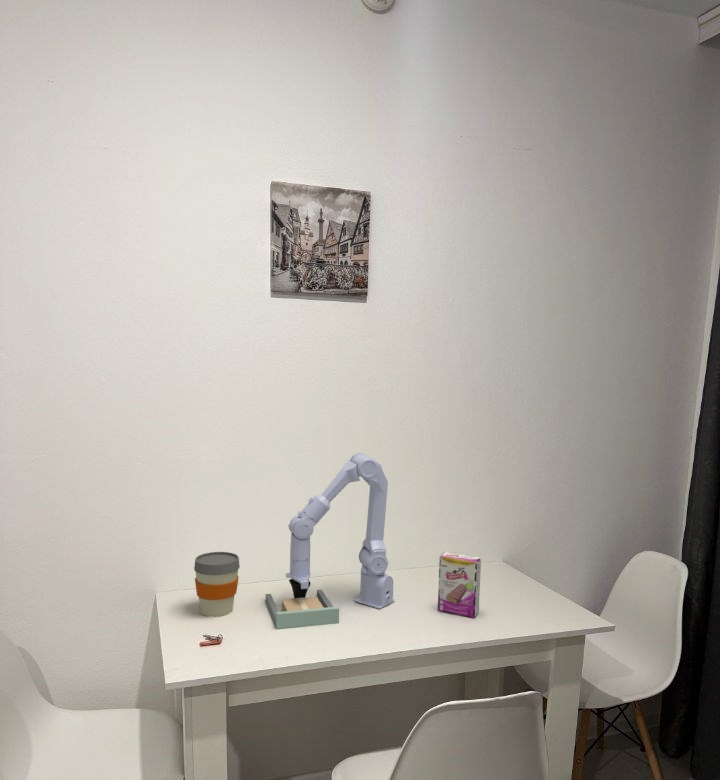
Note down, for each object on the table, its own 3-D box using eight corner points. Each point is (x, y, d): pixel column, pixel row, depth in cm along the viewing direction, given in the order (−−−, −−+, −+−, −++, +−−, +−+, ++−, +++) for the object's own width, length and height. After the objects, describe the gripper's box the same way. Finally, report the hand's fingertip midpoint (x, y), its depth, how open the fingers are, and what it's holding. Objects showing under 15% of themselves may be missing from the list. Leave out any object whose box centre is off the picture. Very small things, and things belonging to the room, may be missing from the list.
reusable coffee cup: (200, 601, 187) (201, 550, 186) (243, 602, 187) (243, 552, 186) (187, 618, 174) (188, 564, 174) (233, 620, 174) (234, 566, 173)
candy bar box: (436, 611, 183) (438, 555, 183) (442, 605, 188) (443, 551, 187) (475, 619, 179) (477, 561, 178) (479, 613, 183) (481, 556, 182)
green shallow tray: (265, 600, 189) (265, 587, 188) (321, 595, 194) (321, 582, 193) (276, 629, 169) (277, 614, 169) (338, 622, 174) (339, 608, 174)
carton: (281, 613, 180) (282, 599, 180) (316, 610, 183) (316, 596, 183) (287, 626, 172) (287, 611, 172) (323, 622, 175) (323, 608, 175)
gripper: (281, 551, 188) (281, 596, 189) (291, 567, 175) (290, 616, 175) (305, 550, 191) (304, 594, 191) (316, 565, 177) (315, 613, 177)
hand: (299, 604), depth 183 cm, fingers closed
